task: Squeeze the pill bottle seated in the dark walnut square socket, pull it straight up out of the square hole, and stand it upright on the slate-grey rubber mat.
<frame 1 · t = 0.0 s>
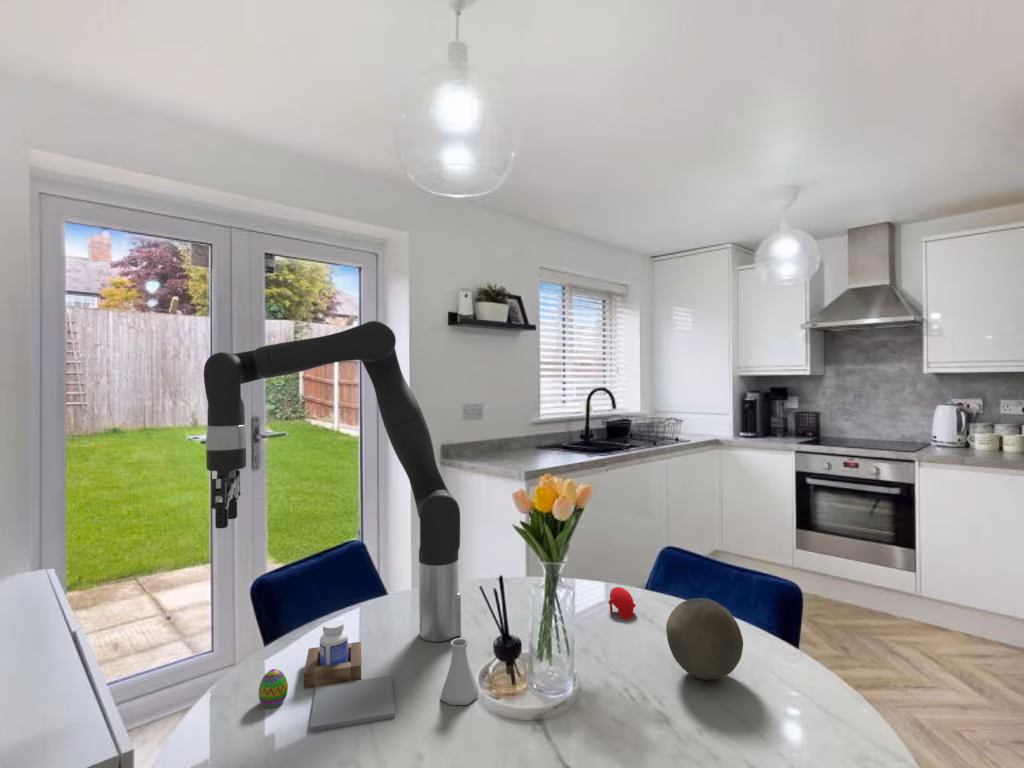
hand: (226, 523, 115), 29 cm above the table, fingers open, 8 cm apart
flask: (459, 696, 101), on the table
egg: (273, 703, 99), on the table
walnut socket: (334, 671, 110), on the table
slate mat: (353, 703, 99), on the table
grey river stone: (704, 679, 106), on the table
red rounded figure: (621, 614, 137), on the table
pill bottle: (334, 672, 110), resting in walnut socket
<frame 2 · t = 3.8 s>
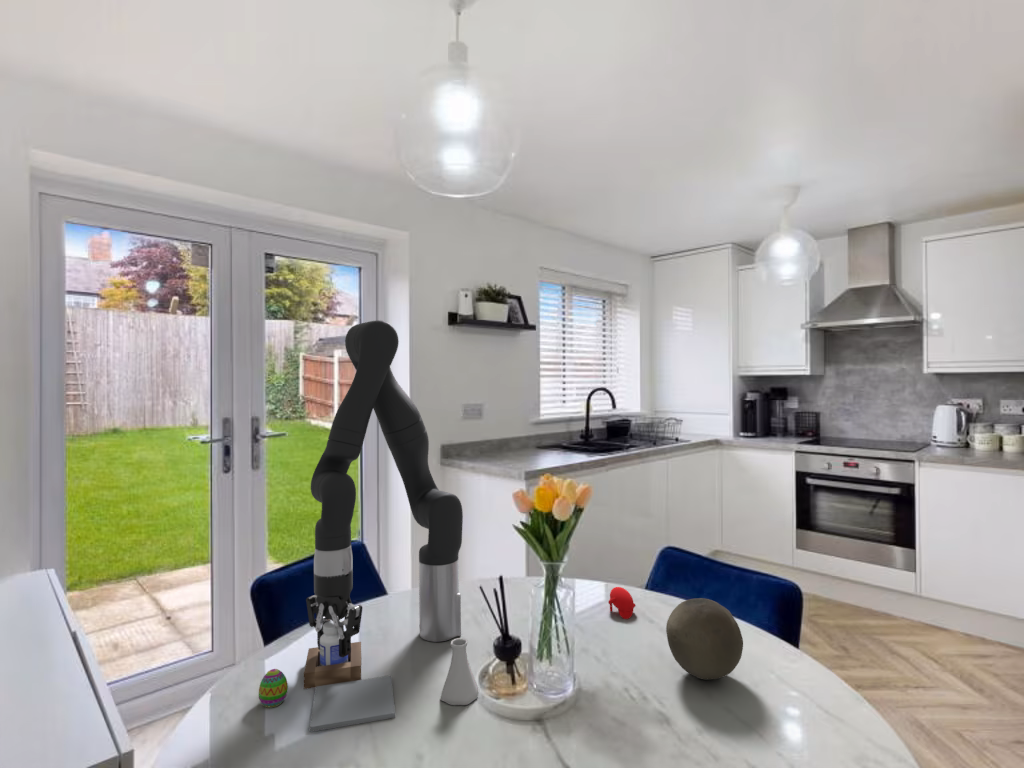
hand: (334, 651, 110), 4 cm above the table, fingers closed on pill bottle, 5 cm apart
pill bottle: (334, 672, 110), resting in walnut socket, touching gripper
everything else where it was.
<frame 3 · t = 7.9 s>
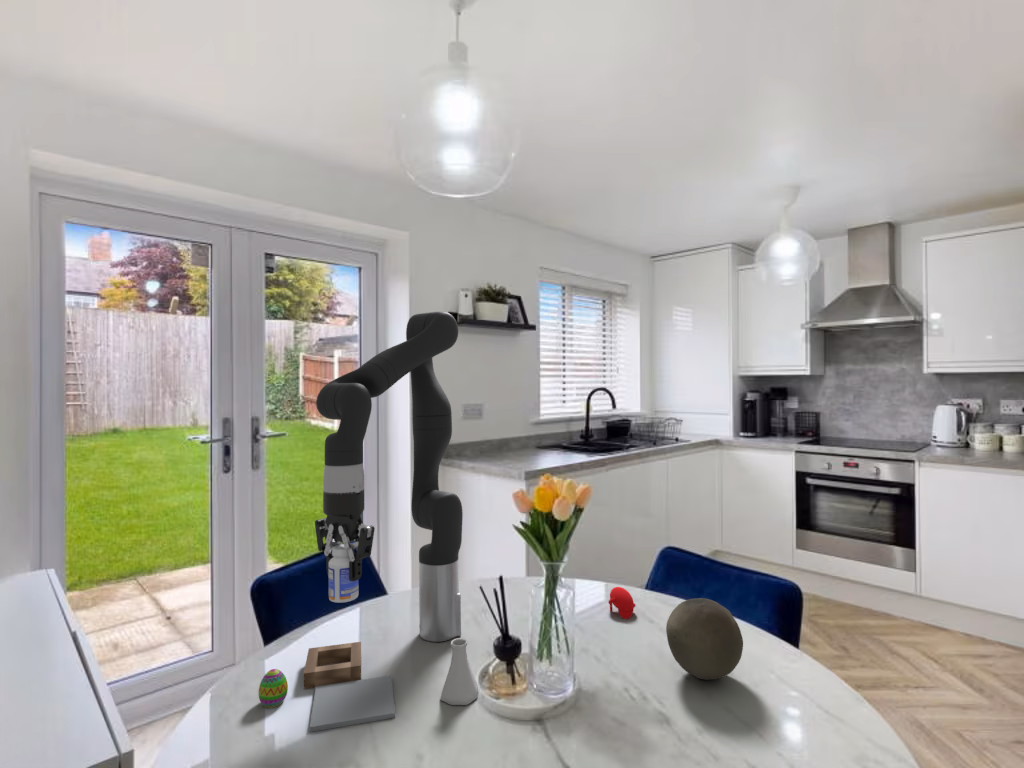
hand: (343, 576, 103), 22 cm above the table, fingers closed on pill bottle, 5 cm apart
pill bottle: (343, 599, 103), point 18 cm above the table, touching gripper
everything else where it was.
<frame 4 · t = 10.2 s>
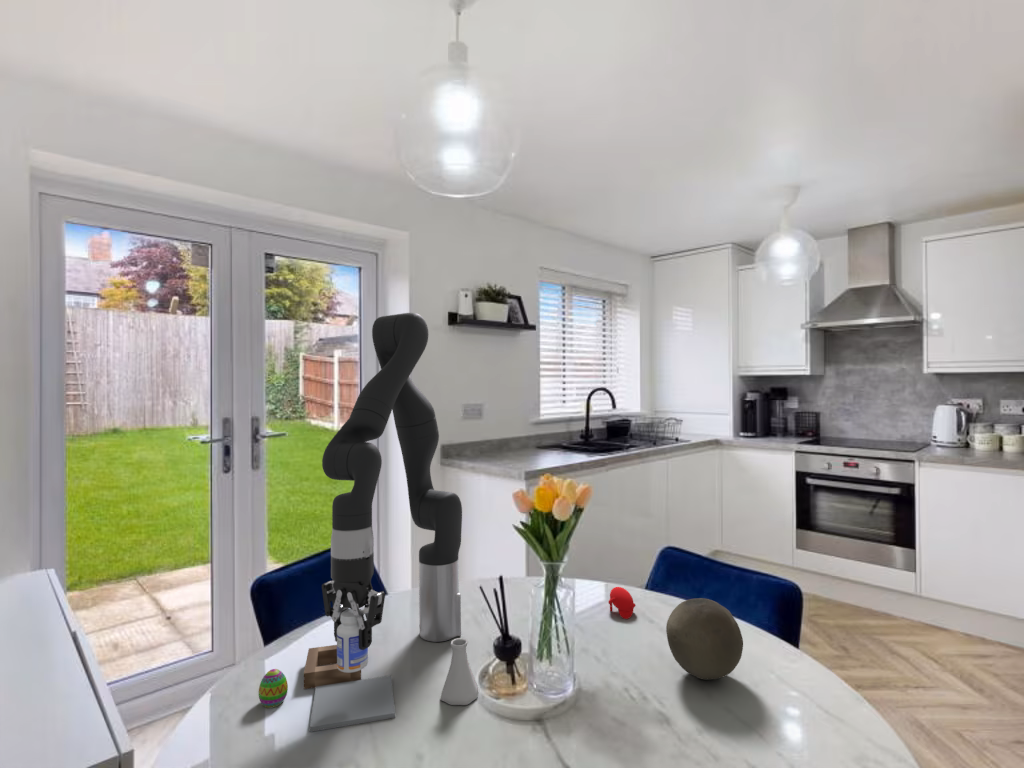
hand: (352, 643, 99), 11 cm above the table, fingers closed on pill bottle, 5 cm apart
pill bottle: (352, 667, 99), point 7 cm above the table, touching gripper
everything else where it was.
when the fingers open (6 cm above the table, at t = 12.0 s): pill bottle drops 1 cm, resting on slate mat.
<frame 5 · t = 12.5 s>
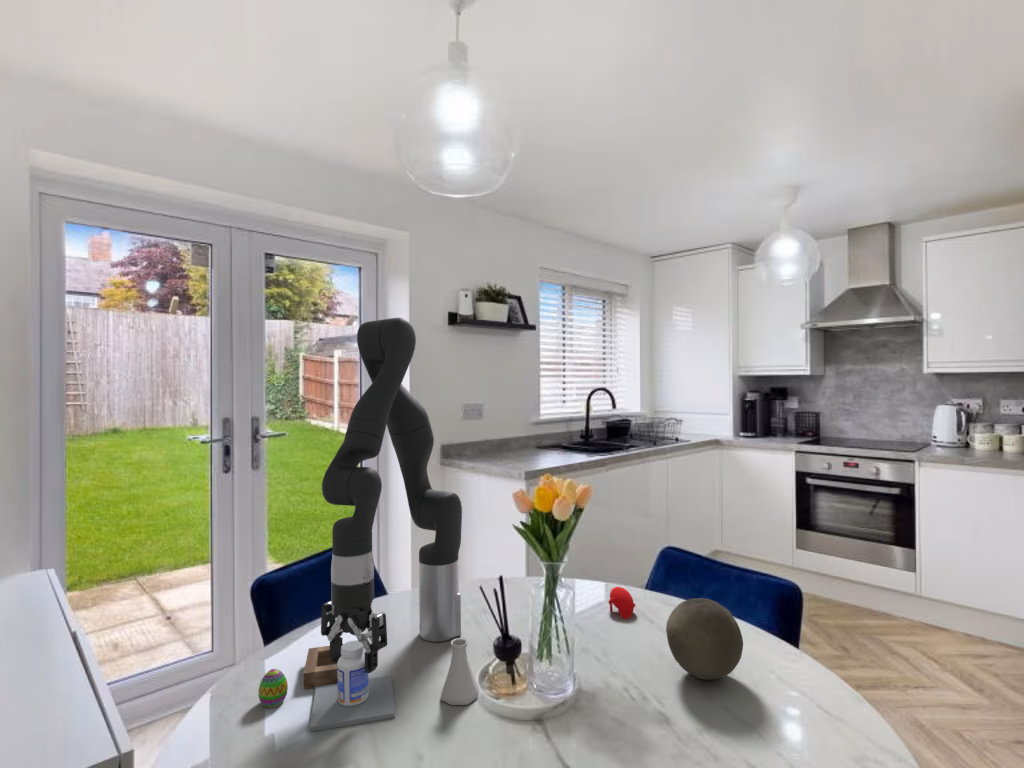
hand: (353, 665, 99), 7 cm above the table, fingers open, 8 cm apart
pill bottle: (353, 699, 99), point 1 cm above the table, touching slate mat
everything else where it was.
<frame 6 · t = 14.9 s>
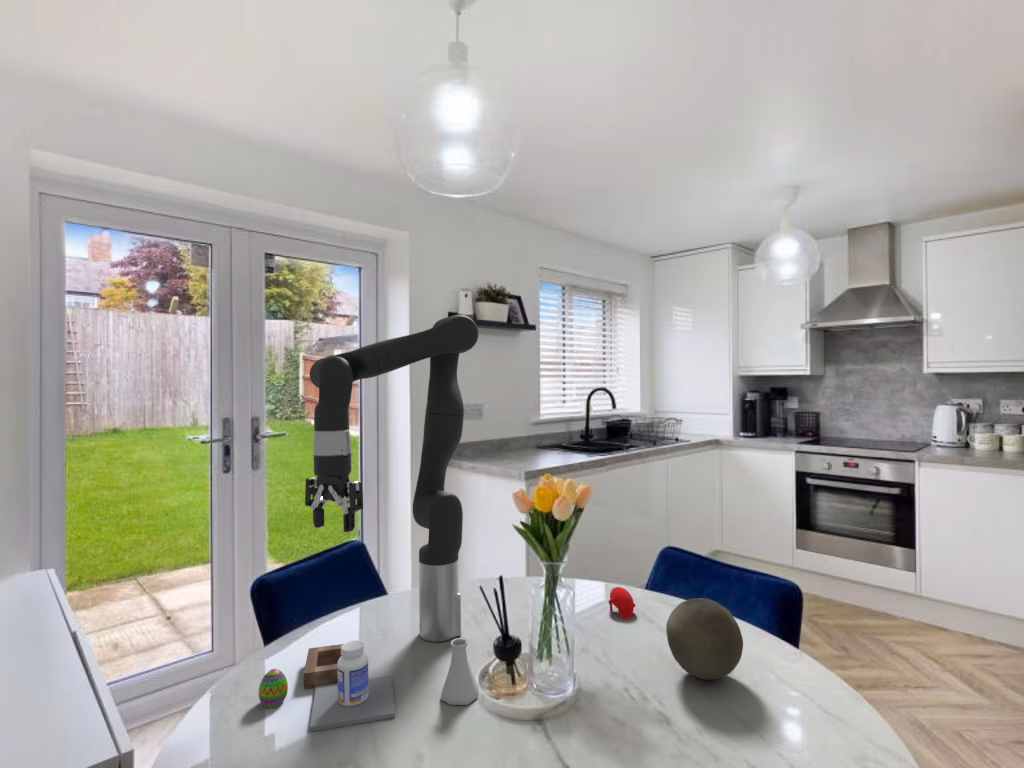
hand: (333, 529, 113), 28 cm above the table, fingers open, 8 cm apart
nothing on the table moved.
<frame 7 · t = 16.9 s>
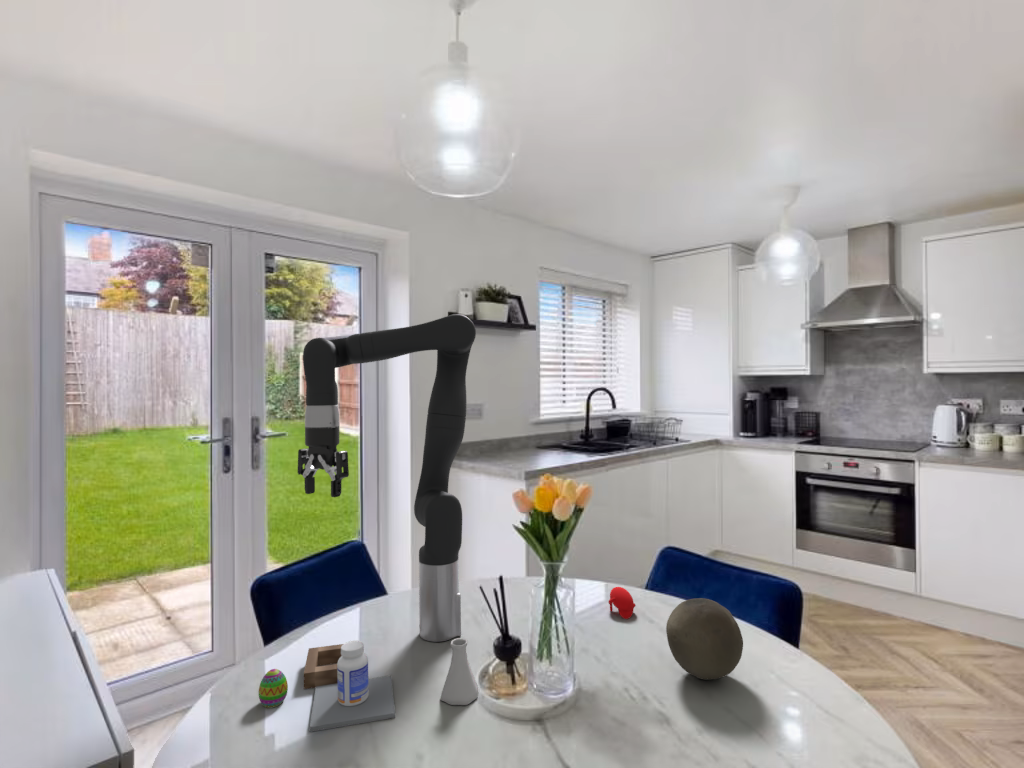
hand: (322, 495, 125), 33 cm above the table, fingers open, 8 cm apart
nothing on the table moved.
at the end: pill bottle inside the target area on the slate mat (0.1 cm from its centre), point 0.6 cm above the slate mat's base; pill bottle tilted 0°; the gripper is holding nothing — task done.
